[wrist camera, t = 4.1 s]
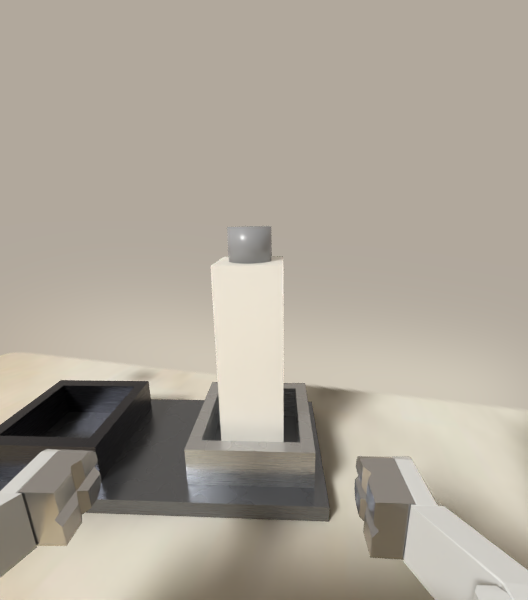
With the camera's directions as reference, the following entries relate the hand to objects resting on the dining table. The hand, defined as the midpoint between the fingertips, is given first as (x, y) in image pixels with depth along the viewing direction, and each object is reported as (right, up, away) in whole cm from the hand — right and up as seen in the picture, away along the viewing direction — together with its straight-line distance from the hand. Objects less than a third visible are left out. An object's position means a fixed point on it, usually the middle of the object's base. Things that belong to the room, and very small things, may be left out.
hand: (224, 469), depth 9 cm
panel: (-6, -6, +13) cm, 15 cm away
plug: (+1, -5, +12) cm, 13 cm away
